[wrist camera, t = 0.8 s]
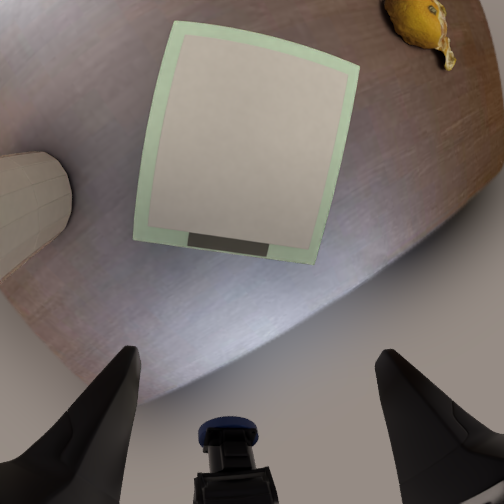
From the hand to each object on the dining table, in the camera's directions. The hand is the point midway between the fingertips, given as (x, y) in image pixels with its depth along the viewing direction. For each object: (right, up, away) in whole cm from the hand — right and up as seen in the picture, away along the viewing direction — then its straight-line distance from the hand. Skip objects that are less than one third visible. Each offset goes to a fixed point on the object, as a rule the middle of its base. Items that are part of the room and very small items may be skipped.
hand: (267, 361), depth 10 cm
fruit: (+15, +23, +7) cm, 28 cm away
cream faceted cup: (-16, +8, +7) cm, 19 cm away
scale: (-1, +11, +8) cm, 14 cm away
